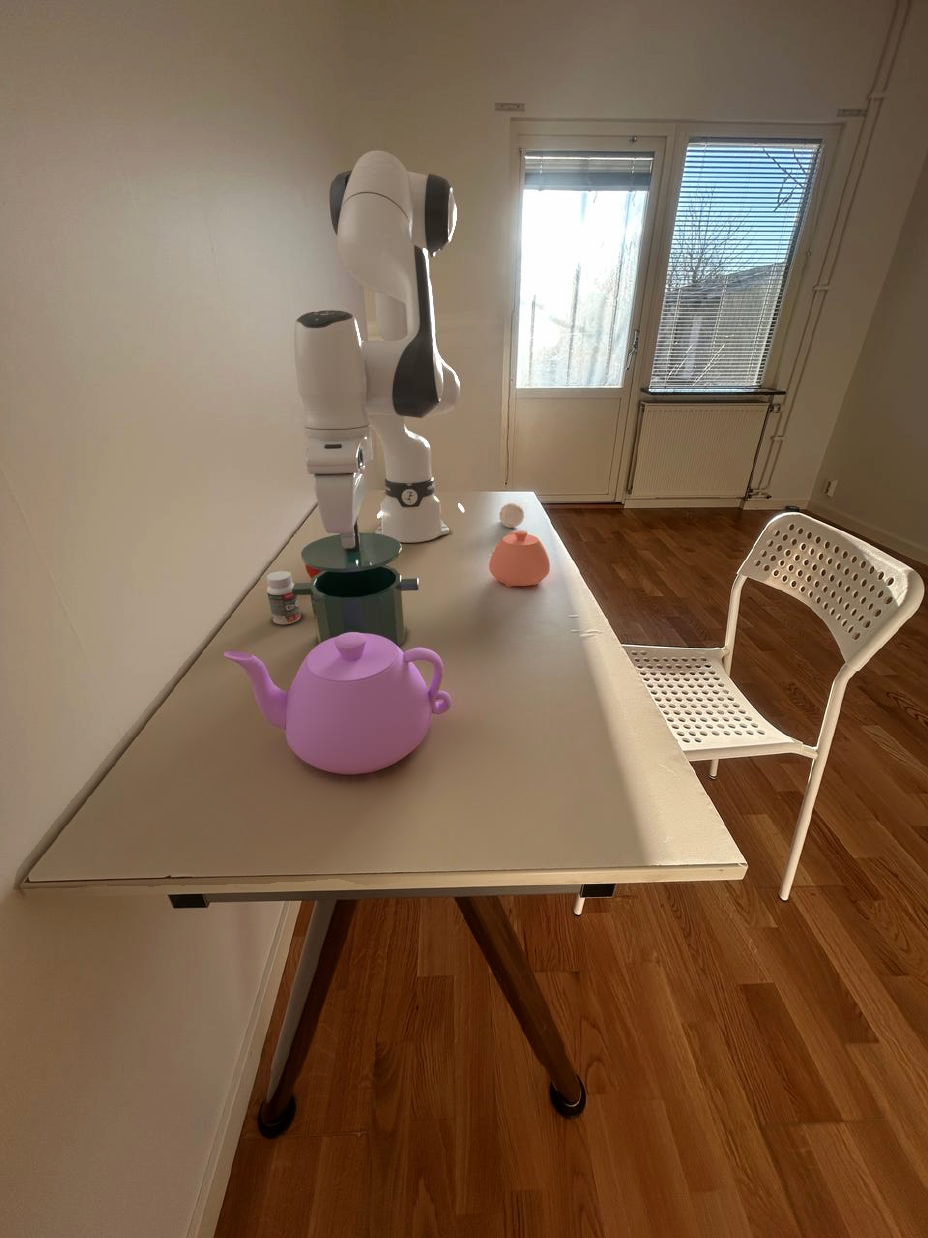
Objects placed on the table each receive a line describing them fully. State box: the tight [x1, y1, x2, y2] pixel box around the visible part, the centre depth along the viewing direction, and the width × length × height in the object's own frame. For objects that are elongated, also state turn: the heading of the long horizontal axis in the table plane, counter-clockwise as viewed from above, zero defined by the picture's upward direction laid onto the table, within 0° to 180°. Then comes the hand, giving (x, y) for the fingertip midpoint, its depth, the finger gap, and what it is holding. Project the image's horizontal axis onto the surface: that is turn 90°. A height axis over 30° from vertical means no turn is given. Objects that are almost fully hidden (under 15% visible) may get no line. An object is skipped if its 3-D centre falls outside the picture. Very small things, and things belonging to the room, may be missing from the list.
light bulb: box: [498, 502, 525, 529], centre depth 137 cm, size 7×7×11 cm
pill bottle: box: [266, 570, 301, 625], centre depth 89 cm, size 5×5×8 cm
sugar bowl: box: [488, 529, 551, 588], centre depth 104 cm, size 12×14×10 cm
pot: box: [292, 564, 419, 648], centre depth 83 cm, size 14×19×10 cm
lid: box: [300, 522, 402, 572], centre depth 77 cm, size 15×15×5 cm
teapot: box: [223, 632, 452, 776], centre depth 61 cm, size 25×18×14 cm
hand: (351, 542), depth 78 cm, fingers closed on lid, 2 cm apart
